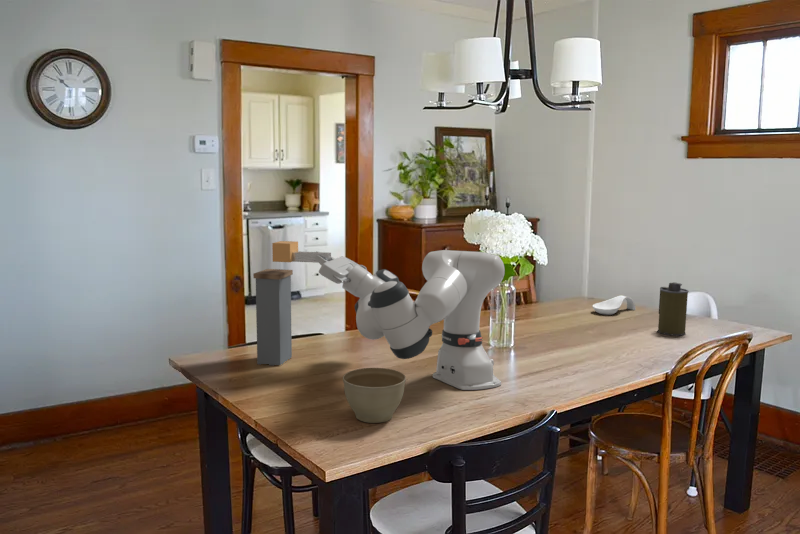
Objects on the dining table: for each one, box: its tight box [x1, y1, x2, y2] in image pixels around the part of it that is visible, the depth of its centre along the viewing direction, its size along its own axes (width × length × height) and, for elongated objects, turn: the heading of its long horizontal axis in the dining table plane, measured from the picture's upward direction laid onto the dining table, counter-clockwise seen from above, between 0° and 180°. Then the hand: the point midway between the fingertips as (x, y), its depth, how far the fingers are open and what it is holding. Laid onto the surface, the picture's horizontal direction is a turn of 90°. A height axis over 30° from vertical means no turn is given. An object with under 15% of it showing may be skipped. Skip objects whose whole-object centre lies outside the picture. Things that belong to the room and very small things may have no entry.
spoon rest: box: [592, 295, 636, 316], centre depth 313 cm, size 24×12×7 cm, turn 124°
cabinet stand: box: [252, 268, 294, 366], centre depth 227 cm, size 9×11×30 cm
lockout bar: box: [271, 240, 332, 264], centre depth 223 cm, size 18×7×6 cm, turn 77°
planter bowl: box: [342, 367, 407, 424], centre depth 178 cm, size 16×16×11 cm
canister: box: [657, 282, 689, 337], centre depth 274 cm, size 11×10×20 cm
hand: (318, 255), depth 221 cm, fingers closed on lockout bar, 3 cm apart
